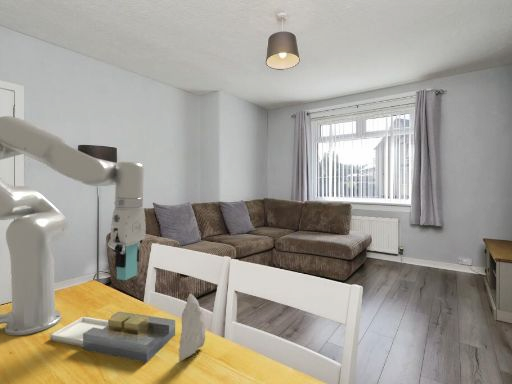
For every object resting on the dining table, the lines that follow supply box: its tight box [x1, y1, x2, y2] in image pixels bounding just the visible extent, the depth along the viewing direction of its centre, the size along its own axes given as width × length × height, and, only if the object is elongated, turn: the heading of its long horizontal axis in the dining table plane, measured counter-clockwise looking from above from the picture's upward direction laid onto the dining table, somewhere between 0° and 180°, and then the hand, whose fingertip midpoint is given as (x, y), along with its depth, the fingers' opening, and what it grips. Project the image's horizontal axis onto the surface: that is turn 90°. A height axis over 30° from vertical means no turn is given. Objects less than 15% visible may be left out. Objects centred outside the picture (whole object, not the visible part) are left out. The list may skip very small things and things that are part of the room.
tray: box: [49, 316, 109, 348], centre depth 75 cm, size 11×10×2 cm
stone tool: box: [178, 293, 206, 362], centre depth 65 cm, size 8×3×15 cm, turn 150°
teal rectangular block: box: [116, 241, 138, 281], centre depth 83 cm, size 3×5×11 cm, turn 166°
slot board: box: [82, 311, 176, 363], centre depth 71 cm, size 18×12×4 cm, turn 75°
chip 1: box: [107, 313, 133, 333], centre depth 72 cm, size 4×4×4 cm
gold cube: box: [124, 314, 148, 336], centre depth 70 cm, size 4×4×4 cm
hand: (127, 263), depth 83 cm, fingers closed on teal rectangular block, 5 cm apart
